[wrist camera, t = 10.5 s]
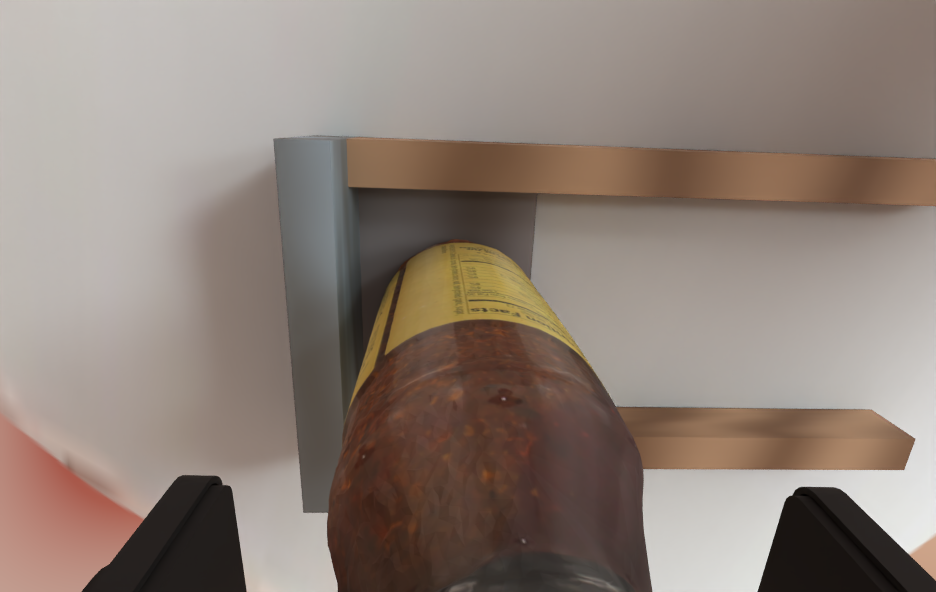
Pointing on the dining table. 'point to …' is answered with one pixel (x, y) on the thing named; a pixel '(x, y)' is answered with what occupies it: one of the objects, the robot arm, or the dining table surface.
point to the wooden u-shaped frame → (512, 232)
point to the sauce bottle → (482, 445)
